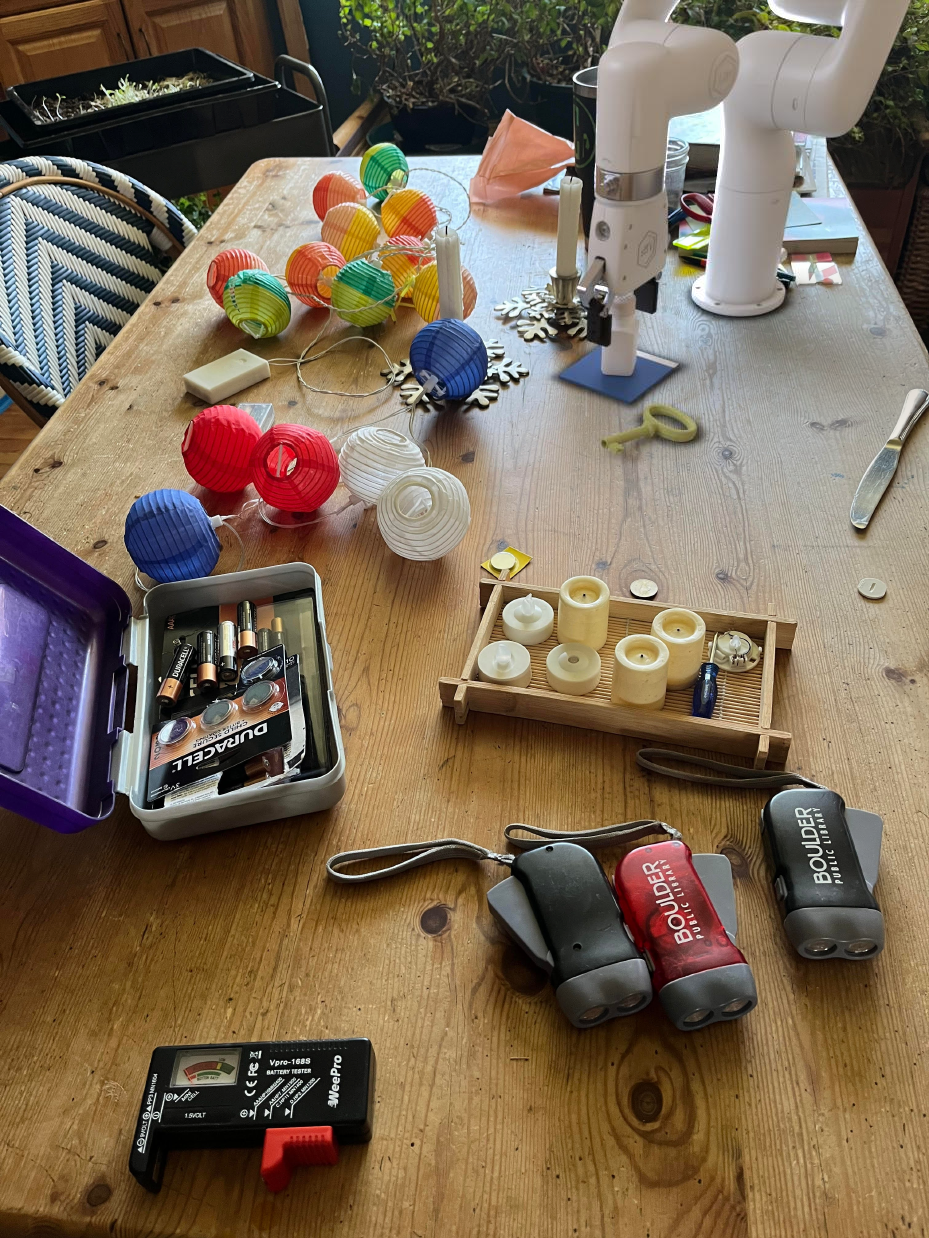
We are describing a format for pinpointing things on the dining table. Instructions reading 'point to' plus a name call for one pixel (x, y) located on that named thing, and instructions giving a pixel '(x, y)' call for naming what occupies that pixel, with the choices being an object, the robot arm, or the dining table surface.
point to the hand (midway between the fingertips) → (622, 326)
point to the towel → (615, 386)
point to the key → (653, 428)
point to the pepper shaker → (621, 338)
